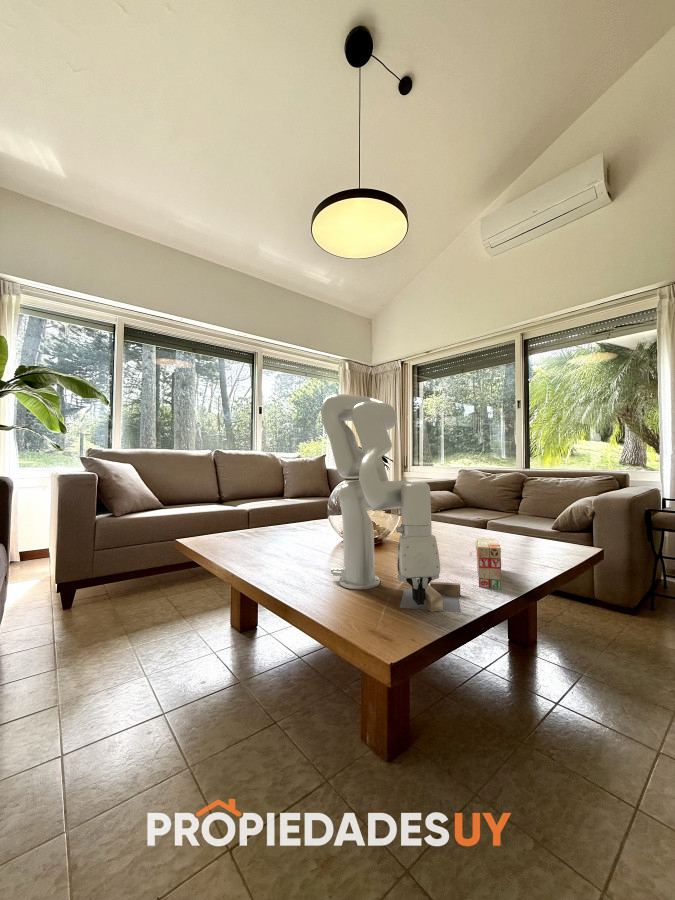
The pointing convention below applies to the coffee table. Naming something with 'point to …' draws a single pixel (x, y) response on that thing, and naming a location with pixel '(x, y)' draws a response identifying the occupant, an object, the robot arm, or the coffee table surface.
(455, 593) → the block
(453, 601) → the mat
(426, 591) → the leg
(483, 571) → the stack of blocks
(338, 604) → the coffee table surface
